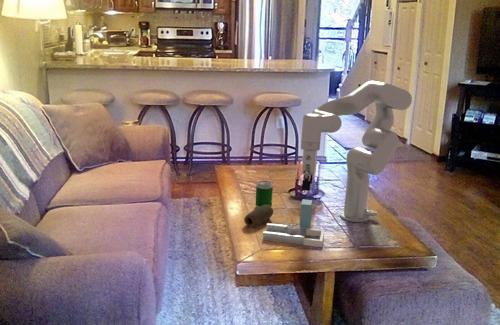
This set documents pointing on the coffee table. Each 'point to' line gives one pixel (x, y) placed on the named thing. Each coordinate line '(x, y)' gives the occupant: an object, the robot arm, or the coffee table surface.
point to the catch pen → (314, 241)
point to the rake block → (306, 213)
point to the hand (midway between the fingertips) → (306, 186)
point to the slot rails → (277, 234)
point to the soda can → (264, 193)
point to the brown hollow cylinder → (258, 215)
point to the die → (292, 229)
